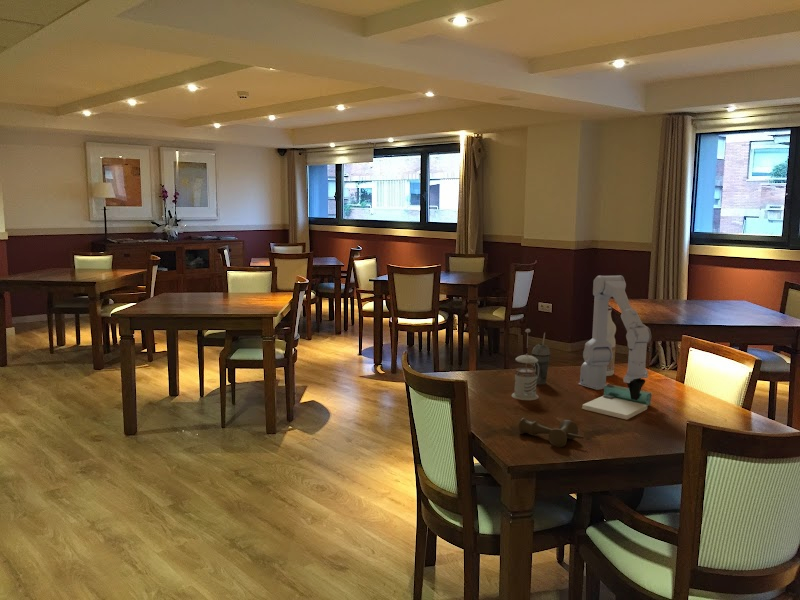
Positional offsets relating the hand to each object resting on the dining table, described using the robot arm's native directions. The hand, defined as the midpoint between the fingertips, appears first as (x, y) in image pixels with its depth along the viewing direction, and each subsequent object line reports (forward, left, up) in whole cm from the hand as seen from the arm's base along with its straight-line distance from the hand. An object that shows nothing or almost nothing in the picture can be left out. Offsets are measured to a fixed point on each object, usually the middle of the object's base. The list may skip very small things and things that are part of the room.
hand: (634, 399), depth 232 cm
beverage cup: (-39, -6, -3) cm, 39 cm away
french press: (-29, -23, -3) cm, 37 cm away
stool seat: (-1, -9, -2) cm, 9 cm away
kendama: (+8, -50, -3) cm, 51 cm away
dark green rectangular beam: (-4, +2, -2) cm, 5 cm away
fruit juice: (-36, +27, -3) cm, 44 cm away
